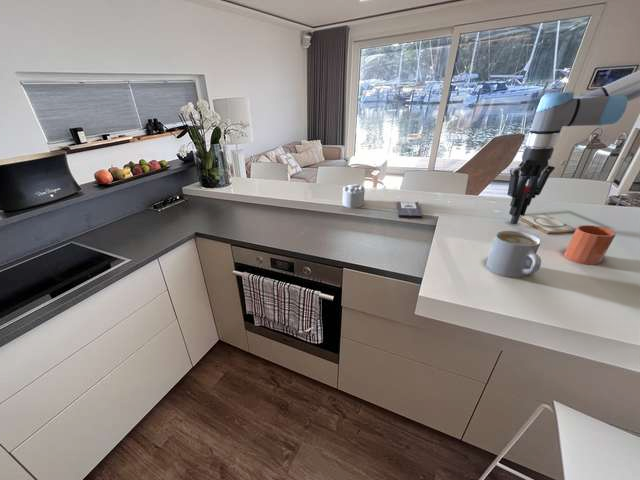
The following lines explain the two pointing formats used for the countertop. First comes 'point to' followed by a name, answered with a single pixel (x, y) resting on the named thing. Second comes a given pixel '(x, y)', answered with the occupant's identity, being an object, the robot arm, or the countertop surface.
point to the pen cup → (589, 244)
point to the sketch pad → (547, 224)
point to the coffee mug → (514, 254)
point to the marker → (523, 196)
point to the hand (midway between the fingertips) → (516, 214)
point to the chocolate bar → (409, 209)
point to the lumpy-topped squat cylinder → (353, 196)
